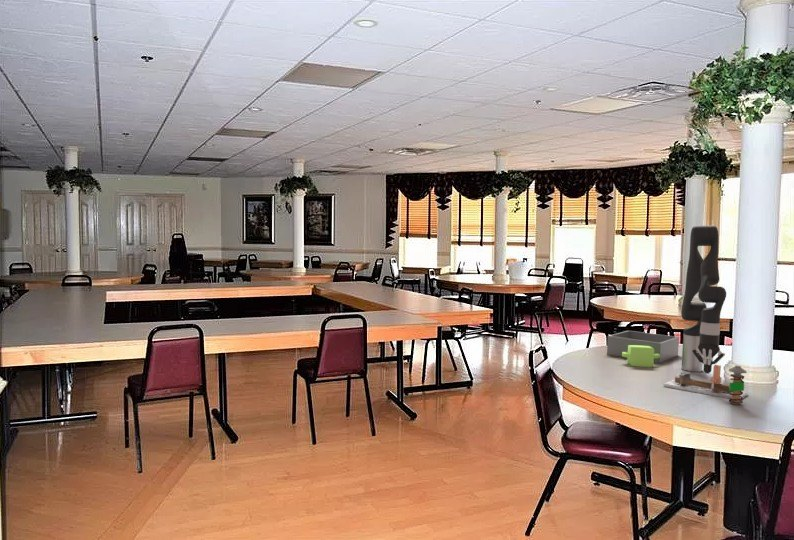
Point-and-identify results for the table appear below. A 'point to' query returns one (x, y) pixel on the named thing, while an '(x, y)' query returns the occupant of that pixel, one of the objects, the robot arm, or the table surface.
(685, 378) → the beam
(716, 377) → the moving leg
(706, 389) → the hole plate
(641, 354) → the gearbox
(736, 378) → the shock absorber
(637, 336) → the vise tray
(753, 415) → the table surface
